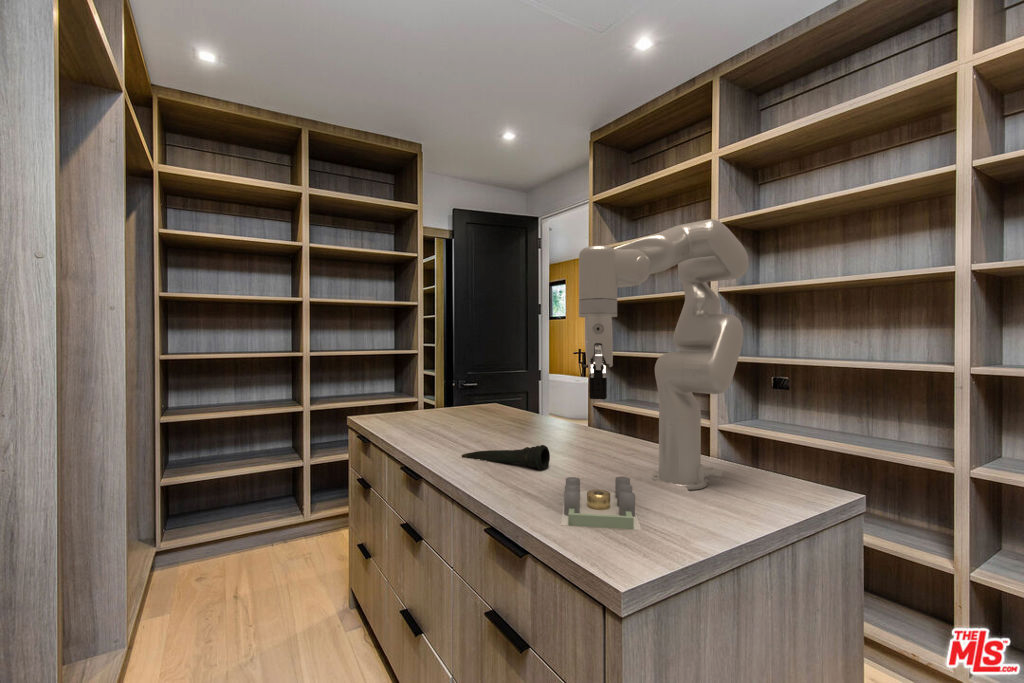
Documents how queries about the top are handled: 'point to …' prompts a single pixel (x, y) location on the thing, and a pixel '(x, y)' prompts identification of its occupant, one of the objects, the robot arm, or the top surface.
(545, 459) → the tool
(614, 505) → the board
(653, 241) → the robot arm
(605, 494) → the gold short round piece
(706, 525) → the top surface
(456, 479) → the top surface
